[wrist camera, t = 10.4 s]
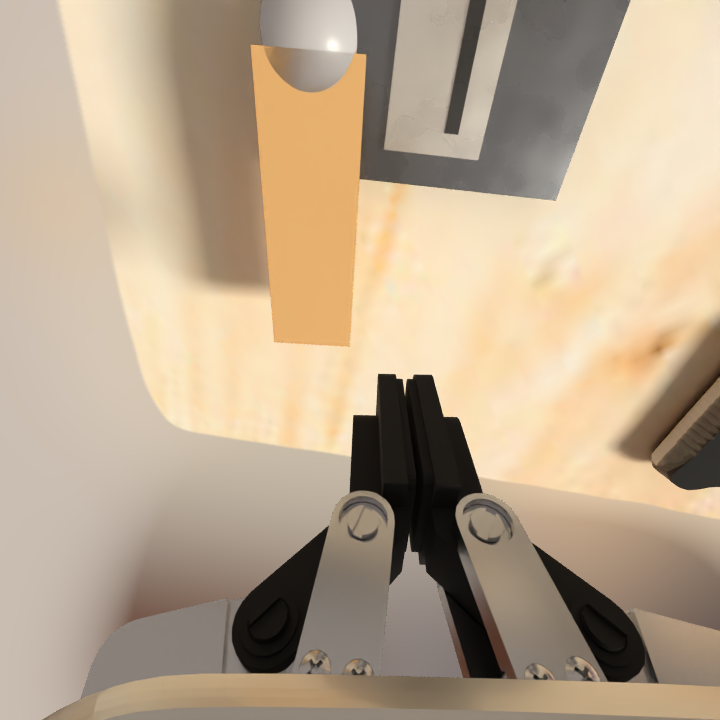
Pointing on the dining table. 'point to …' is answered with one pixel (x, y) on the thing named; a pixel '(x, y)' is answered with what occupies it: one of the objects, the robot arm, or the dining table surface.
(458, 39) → the grey flat block
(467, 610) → the robot arm
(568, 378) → the dining table surface
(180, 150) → the dining table surface
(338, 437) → the dining table surface
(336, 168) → the swing arm
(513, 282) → the dining table surface
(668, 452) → the black sponge
